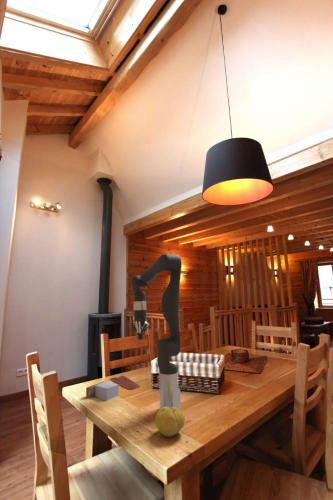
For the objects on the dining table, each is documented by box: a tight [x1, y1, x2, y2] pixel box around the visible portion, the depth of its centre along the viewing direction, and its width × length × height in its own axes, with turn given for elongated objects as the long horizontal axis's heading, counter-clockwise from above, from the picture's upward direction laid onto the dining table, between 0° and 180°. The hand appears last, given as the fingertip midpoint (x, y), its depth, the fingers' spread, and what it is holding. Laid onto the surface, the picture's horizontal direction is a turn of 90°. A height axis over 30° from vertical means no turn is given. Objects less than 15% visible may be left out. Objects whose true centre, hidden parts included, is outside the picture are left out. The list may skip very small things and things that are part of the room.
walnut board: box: [85, 381, 105, 400], centre depth 145 cm, size 3×12×5 cm, turn 143°
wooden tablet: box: [109, 375, 141, 391], centre depth 162 cm, size 27×10×2 cm, turn 36°
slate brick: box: [94, 380, 120, 401], centre depth 143 cm, size 10×8×6 cm
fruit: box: [154, 406, 185, 438], centre depth 103 cm, size 11×12×10 cm
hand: (140, 339), depth 149 cm, fingers closed
